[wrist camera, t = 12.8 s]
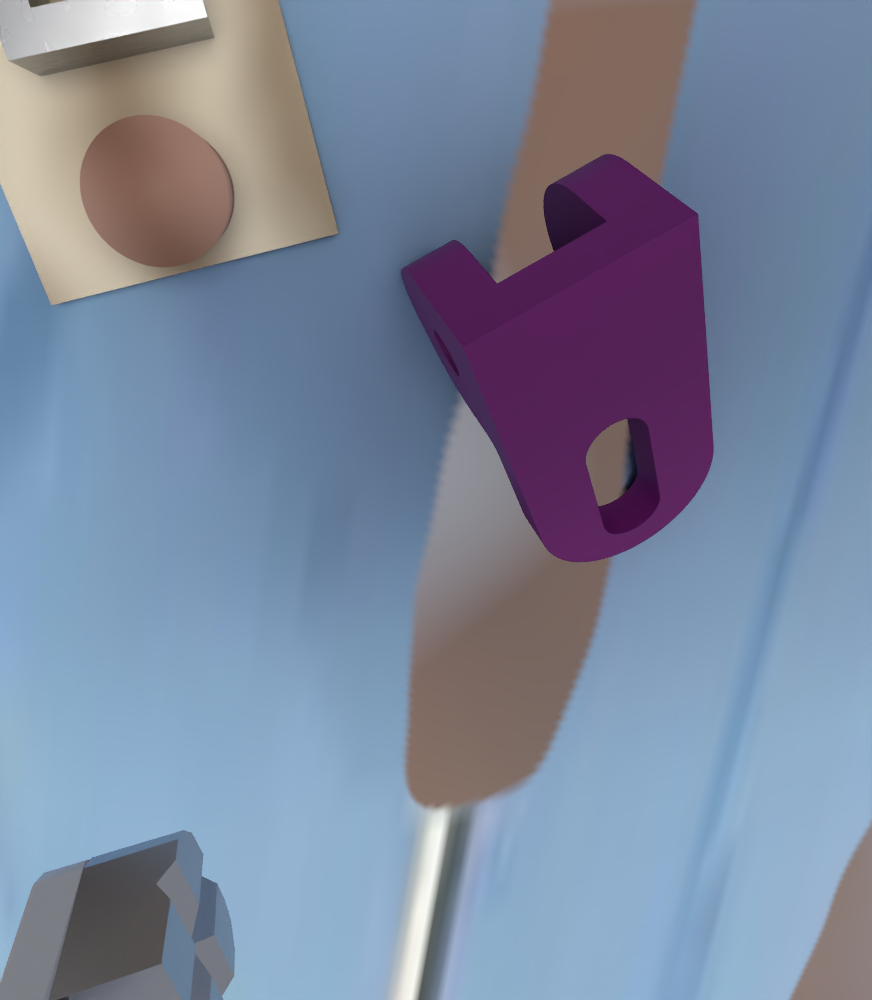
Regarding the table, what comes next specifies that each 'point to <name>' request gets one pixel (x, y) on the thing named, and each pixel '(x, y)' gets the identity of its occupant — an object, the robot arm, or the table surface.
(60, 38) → the collar
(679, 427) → the mounting bracket
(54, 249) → the post board
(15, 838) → the table surface
